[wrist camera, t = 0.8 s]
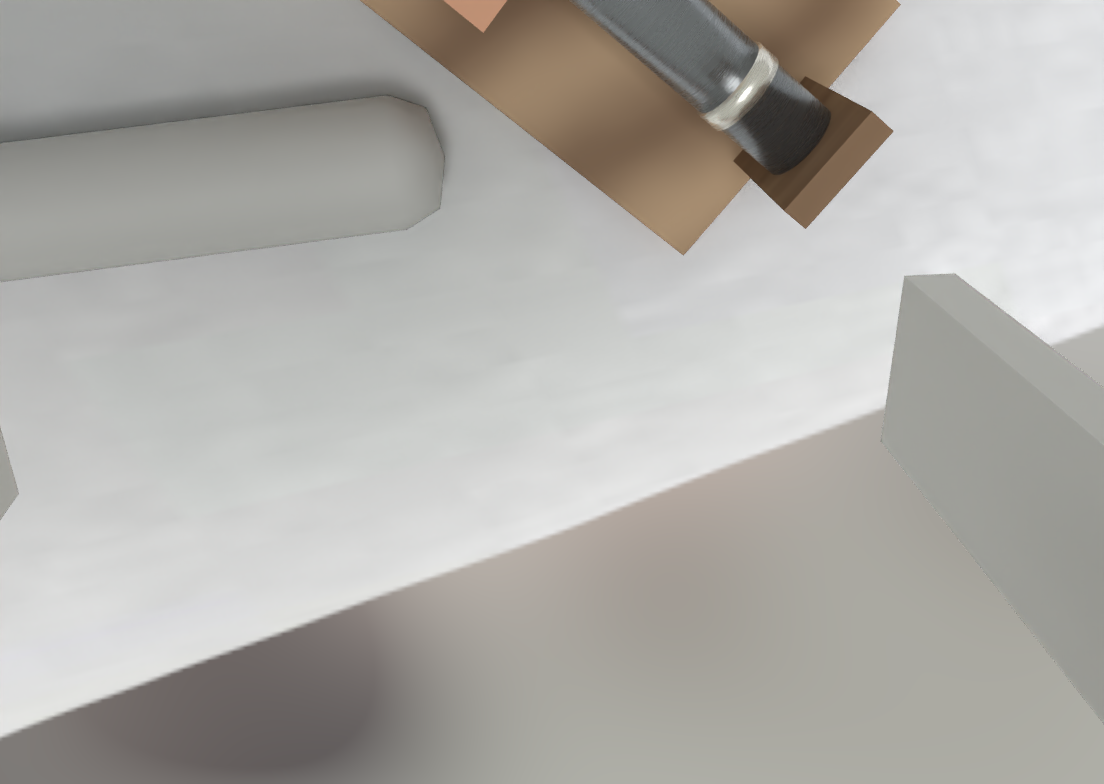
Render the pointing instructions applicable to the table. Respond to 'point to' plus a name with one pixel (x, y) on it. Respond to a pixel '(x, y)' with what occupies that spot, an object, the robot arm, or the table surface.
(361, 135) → the tube
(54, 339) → the table surface
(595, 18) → the pipe
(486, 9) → the square pink collar
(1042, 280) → the table surface
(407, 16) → the base board
